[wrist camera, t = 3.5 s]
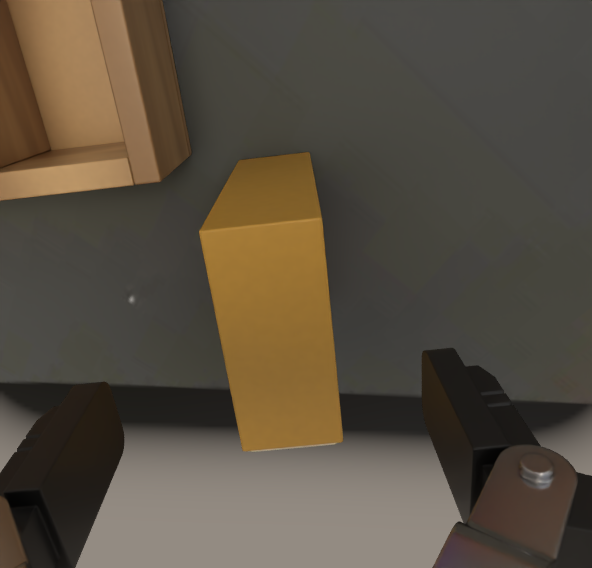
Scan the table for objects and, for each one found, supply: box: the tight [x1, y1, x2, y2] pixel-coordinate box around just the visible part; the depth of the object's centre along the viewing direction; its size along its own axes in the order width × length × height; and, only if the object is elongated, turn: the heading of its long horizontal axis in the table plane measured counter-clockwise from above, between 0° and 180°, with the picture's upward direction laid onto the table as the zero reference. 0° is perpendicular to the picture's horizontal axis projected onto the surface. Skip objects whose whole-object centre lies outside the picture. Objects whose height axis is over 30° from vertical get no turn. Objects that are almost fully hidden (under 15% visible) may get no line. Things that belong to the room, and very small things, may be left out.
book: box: [199, 152, 343, 452], centre depth 20 cm, size 3×8×11 cm, turn 6°
